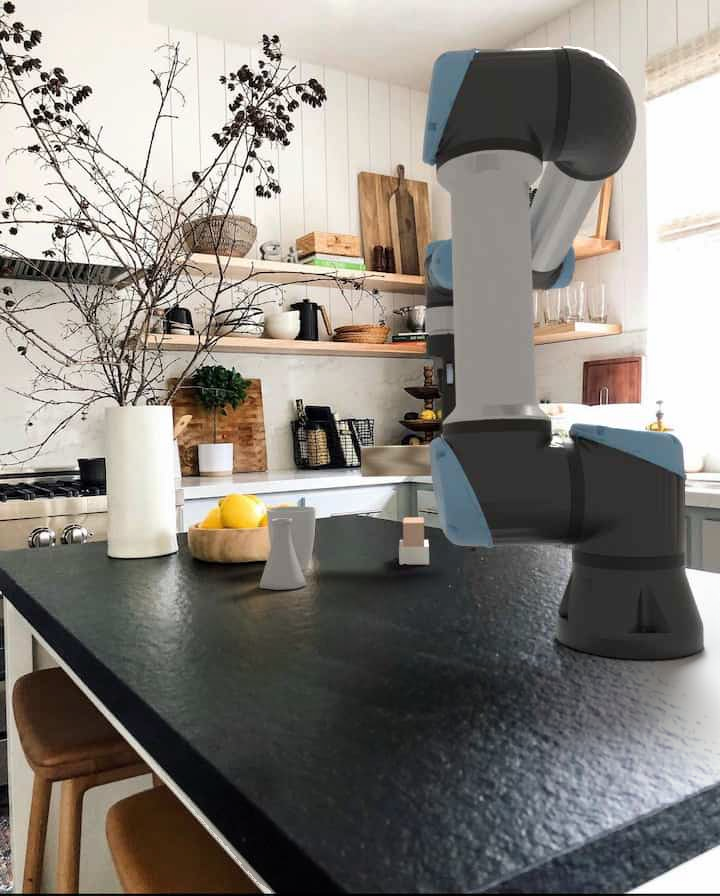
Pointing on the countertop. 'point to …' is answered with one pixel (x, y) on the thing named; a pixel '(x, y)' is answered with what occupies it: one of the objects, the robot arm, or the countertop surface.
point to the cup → (297, 530)
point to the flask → (282, 560)
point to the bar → (395, 461)
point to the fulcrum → (413, 542)
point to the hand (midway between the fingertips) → (449, 471)
